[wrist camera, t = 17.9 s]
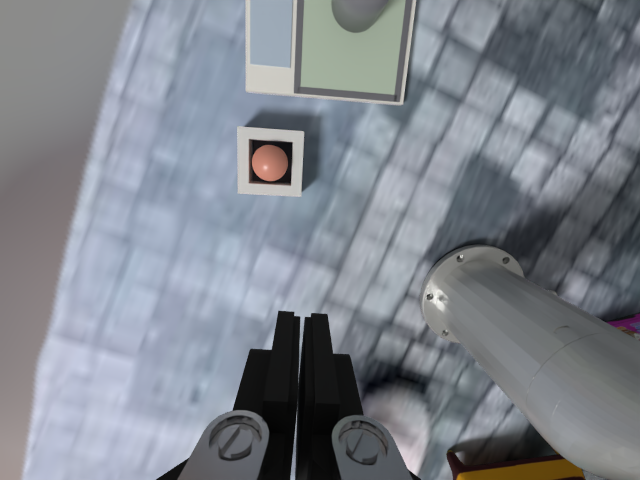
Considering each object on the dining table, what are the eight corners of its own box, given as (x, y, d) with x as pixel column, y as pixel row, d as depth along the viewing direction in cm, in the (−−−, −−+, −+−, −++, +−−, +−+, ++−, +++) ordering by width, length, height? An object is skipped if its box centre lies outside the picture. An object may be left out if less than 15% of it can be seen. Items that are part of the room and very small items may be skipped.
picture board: (424, -90, 26) (429, -98, 25) (400, 105, 30) (403, 104, 30) (246, -117, 25) (245, -127, 24) (247, 92, 29) (245, 90, 28)
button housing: (303, 132, 30) (304, 131, 28) (300, 193, 32) (301, 196, 29) (242, 128, 30) (237, 126, 27) (242, 190, 31) (237, 193, 29)
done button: (288, 146, 30) (288, 146, 27) (287, 179, 31) (286, 182, 28) (256, 144, 30) (252, 143, 27) (255, 177, 31) (251, 180, 28)
